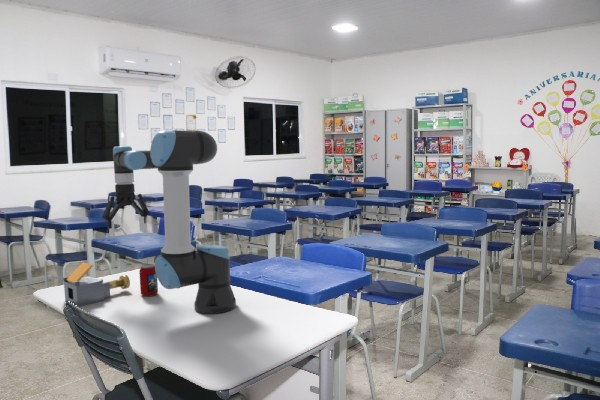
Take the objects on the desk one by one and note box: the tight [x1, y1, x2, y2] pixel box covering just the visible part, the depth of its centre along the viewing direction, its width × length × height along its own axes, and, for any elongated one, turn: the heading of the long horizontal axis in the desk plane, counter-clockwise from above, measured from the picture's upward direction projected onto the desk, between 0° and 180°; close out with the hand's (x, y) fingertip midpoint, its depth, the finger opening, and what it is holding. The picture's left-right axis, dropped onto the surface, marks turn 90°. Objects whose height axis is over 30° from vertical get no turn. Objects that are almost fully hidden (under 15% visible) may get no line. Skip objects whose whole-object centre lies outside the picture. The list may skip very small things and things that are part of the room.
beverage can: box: [138, 263, 159, 297], centre depth 198 cm, size 7×7×12 cm
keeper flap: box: [66, 261, 94, 283], centre depth 190 cm, size 8×9×1 cm
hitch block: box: [62, 275, 111, 307], centre depth 193 cm, size 12×14×10 cm
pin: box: [108, 274, 131, 290], centre depth 199 cm, size 16×6×6 cm, turn 137°
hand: (127, 233), depth 205 cm, fingers open, 13 cm apart
